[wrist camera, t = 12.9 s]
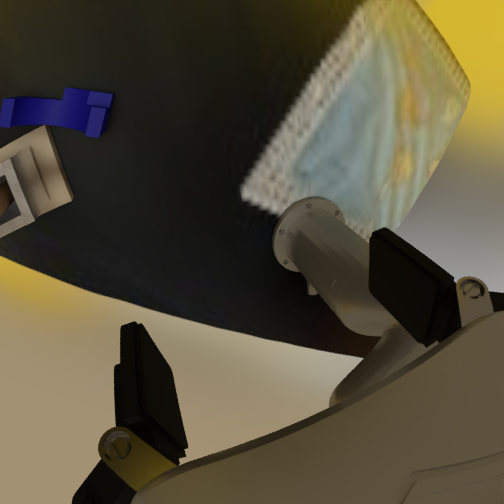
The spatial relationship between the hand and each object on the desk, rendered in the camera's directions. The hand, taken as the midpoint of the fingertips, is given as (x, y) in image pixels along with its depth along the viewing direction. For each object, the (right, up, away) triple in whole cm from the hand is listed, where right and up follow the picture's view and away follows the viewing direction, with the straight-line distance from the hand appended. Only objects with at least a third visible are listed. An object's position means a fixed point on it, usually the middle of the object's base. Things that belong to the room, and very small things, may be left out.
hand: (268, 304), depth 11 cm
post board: (-29, +11, +18) cm, 36 cm away
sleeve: (-28, +10, +16) cm, 34 cm away
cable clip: (-22, +19, +16) cm, 33 cm away
